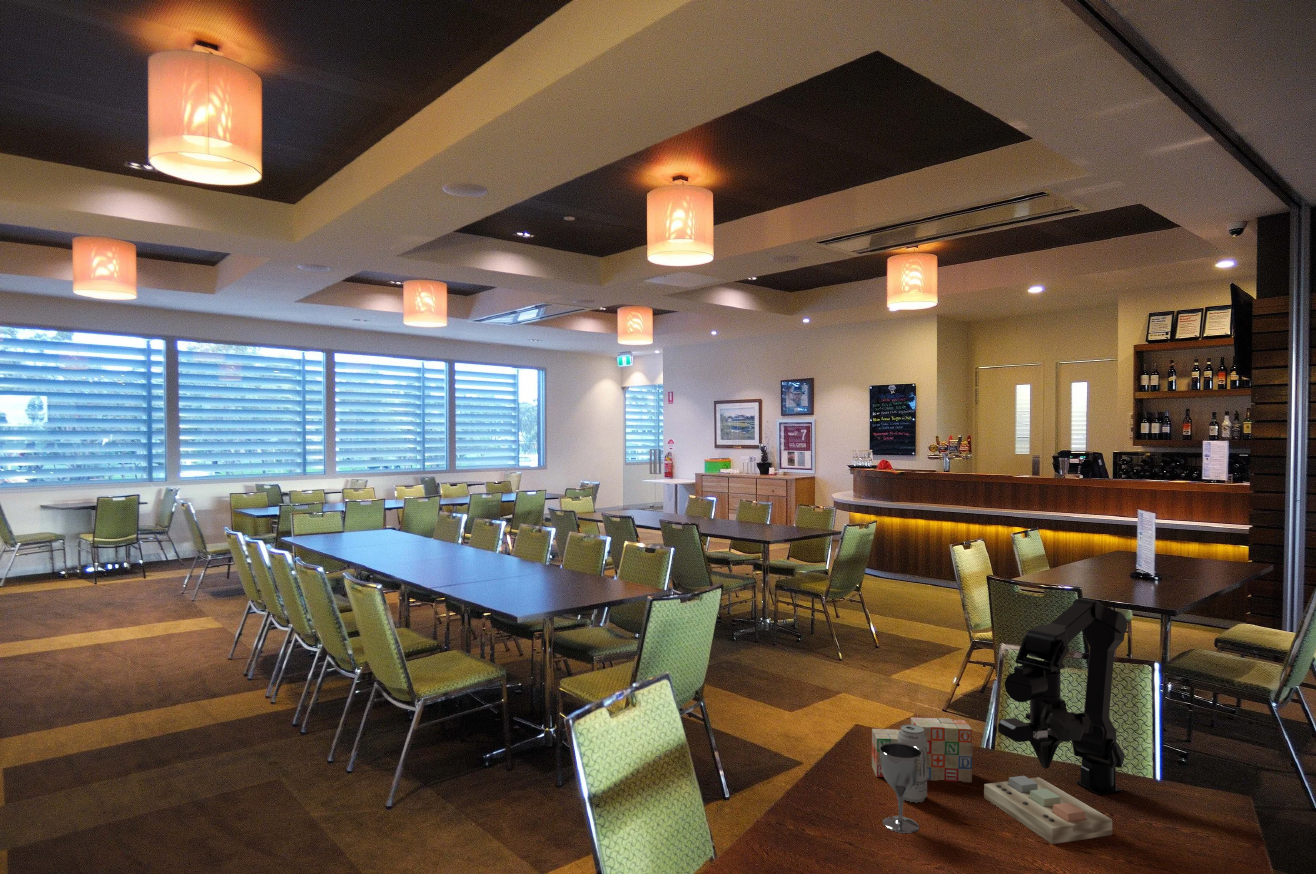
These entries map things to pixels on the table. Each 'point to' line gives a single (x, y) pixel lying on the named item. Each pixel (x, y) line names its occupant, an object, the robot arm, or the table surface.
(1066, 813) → the two-dot key
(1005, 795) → the key panel
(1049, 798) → the one-dot key
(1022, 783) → the three-dot key
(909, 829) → the wine glass
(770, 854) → the table surface
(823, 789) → the table surface
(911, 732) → the energy drink can
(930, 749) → the stack of blocks
